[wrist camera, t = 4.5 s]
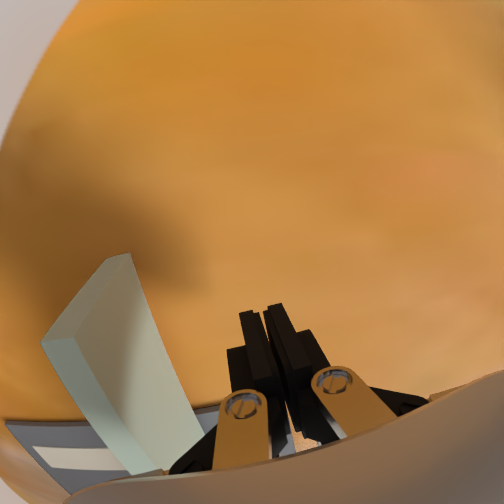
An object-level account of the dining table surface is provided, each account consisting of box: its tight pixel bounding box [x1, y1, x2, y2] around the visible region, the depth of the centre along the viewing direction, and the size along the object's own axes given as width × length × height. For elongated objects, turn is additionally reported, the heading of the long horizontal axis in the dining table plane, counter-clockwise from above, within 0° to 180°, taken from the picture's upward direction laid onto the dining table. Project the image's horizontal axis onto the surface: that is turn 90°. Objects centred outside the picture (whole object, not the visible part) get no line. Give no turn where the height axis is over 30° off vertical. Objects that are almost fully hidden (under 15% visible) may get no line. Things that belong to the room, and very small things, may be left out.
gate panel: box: [40, 252, 205, 475], centre depth 13 cm, size 16×2×7 cm, turn 12°
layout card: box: [5, 405, 296, 495], centre depth 21 cm, size 21×22×1 cm
